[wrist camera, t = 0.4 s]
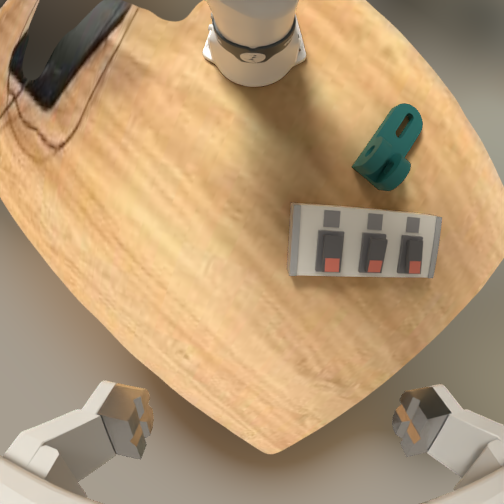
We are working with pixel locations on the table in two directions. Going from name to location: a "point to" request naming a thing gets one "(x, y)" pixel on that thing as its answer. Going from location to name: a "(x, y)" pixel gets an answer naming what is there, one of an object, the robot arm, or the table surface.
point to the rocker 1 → (331, 253)
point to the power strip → (359, 239)
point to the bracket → (390, 149)
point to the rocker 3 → (414, 257)
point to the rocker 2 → (375, 255)
